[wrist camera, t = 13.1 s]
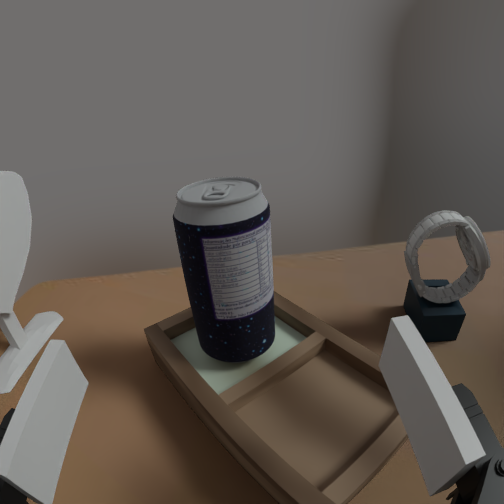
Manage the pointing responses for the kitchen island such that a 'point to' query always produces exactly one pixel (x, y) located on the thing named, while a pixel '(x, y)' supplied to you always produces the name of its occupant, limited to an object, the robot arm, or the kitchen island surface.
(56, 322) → the heart sculpture
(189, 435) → the kitchen island surface
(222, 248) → the beverage can
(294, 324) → the brown divided tray
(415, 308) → the watch
